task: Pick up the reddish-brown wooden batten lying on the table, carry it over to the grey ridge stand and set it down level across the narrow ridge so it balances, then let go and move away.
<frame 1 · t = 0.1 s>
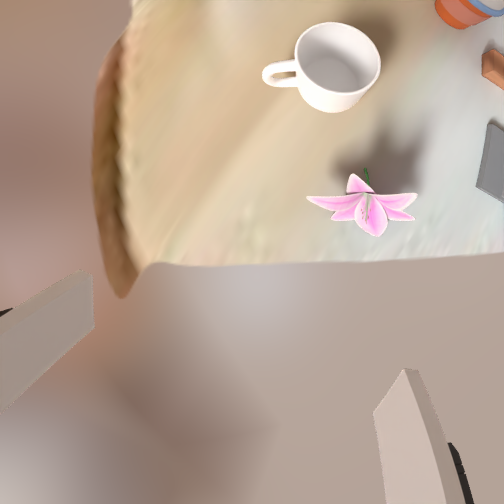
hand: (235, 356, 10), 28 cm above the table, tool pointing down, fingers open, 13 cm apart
cup with straw: (450, 14, 23), on the table
cup: (314, 85, 31), on the table
lily: (358, 200, 35), on the table
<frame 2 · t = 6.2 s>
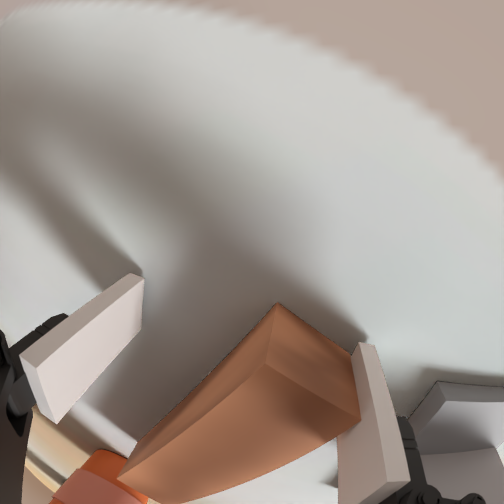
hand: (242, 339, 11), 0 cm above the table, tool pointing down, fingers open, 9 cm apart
cup with straw: (124, 466, 19), on the table
batten: (214, 416, 14), on the table, touching gripper
ridge stand: (438, 449, 12), on the table
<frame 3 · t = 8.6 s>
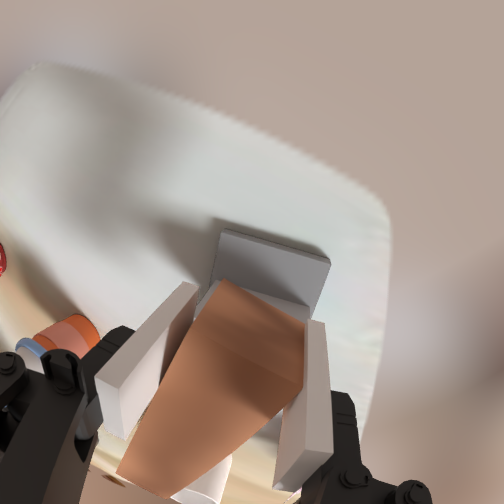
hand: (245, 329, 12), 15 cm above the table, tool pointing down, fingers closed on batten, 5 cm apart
cup with straw: (85, 332, 35), on the table
batten: (195, 402, 15), point 15 cm above the table, touching gripper
cup: (211, 455, 39), on the table
ridge stand: (260, 300, 28), on the table
when the fingers open (8 cm above the table, at t = 10.9 s): batten stays where it is, resting on ridge stand.
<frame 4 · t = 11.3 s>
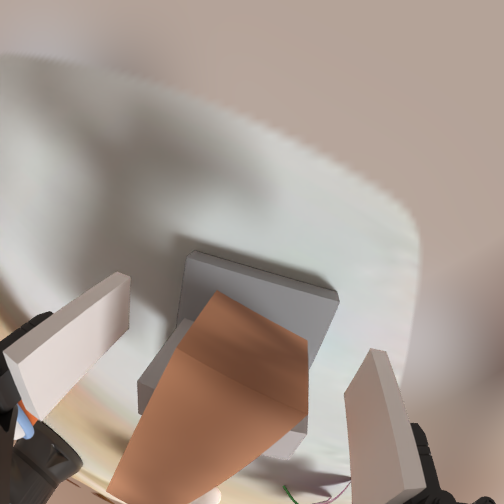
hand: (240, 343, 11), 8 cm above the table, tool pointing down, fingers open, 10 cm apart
cup with straw: (52, 359, 27), on the table
batten: (187, 422, 13), point 9 cm above the table, touching ridge stand
cup: (198, 489, 31), on the table
lily: (315, 487, 27), on the table
ridge stand: (244, 342, 21), on the table
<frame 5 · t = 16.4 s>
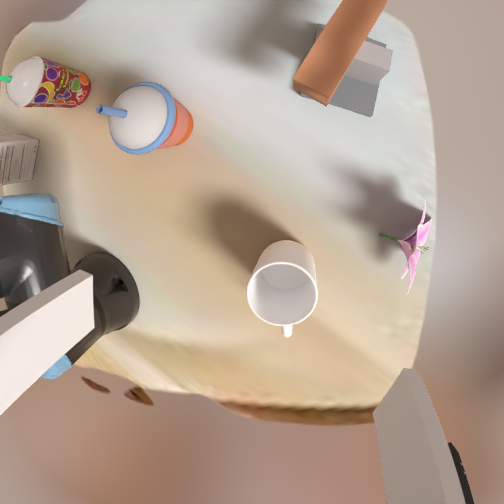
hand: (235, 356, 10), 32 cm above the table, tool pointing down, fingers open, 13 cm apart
smoothie: (80, 91, 39), on the table
cup with straw: (175, 126, 39), on the table
batten: (341, 45, 25), point 8 cm above the table, touching ridge stand
cup: (287, 277, 43), on the table
supplement box: (26, 156, 45), on the table
lily: (403, 238, 38), on the table
ridge stand: (344, 69, 33), on the table
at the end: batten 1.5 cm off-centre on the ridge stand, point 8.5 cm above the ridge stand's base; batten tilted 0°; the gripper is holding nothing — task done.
